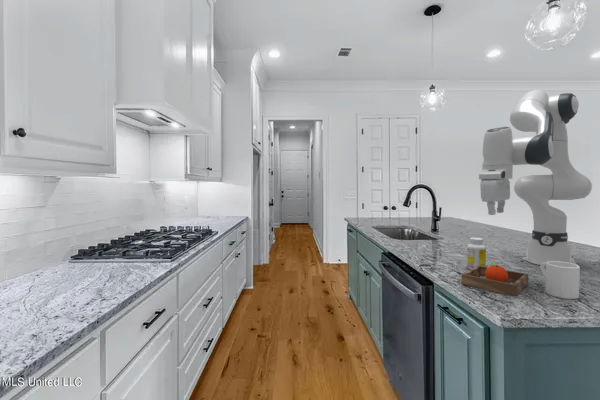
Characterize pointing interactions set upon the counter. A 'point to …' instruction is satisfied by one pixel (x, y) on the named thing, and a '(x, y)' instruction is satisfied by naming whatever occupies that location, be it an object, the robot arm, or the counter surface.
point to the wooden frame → (501, 287)
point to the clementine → (496, 273)
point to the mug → (561, 279)
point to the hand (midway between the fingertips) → (496, 213)
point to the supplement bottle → (476, 253)
